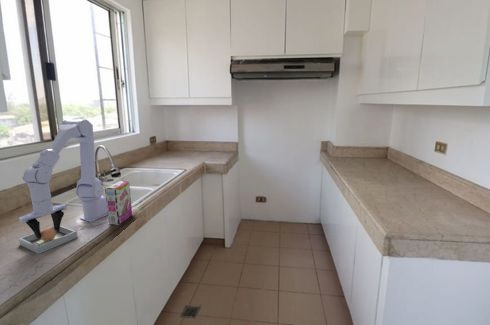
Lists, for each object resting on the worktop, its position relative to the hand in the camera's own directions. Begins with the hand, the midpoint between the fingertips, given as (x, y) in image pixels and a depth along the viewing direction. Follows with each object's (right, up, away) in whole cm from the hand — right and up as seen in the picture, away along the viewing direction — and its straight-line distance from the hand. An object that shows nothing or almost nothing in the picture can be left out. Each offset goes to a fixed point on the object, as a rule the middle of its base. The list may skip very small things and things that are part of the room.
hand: (48, 233), depth 100 cm
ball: (0, -3, +1) cm, 3 cm away
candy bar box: (+19, +1, +18) cm, 26 cm away
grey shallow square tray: (0, -3, +1) cm, 3 cm away
